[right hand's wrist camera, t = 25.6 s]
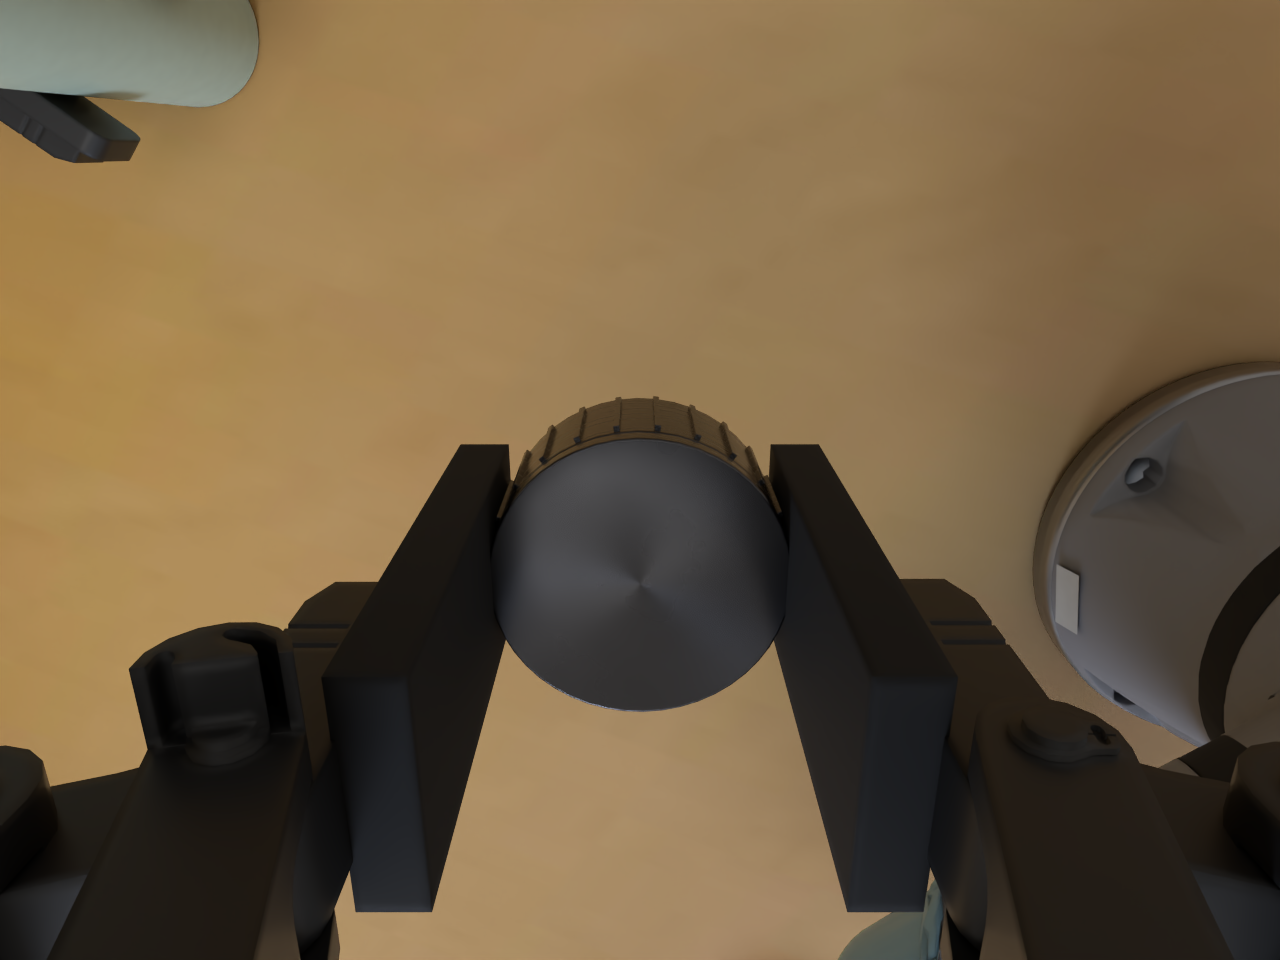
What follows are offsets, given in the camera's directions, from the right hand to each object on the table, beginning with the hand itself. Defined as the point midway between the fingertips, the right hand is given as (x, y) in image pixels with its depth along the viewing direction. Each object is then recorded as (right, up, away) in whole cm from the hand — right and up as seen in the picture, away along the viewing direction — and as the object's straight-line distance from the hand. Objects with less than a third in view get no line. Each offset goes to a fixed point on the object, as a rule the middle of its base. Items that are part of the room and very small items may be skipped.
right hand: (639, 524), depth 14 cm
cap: (0, -1, -2) cm, 2 cm away
